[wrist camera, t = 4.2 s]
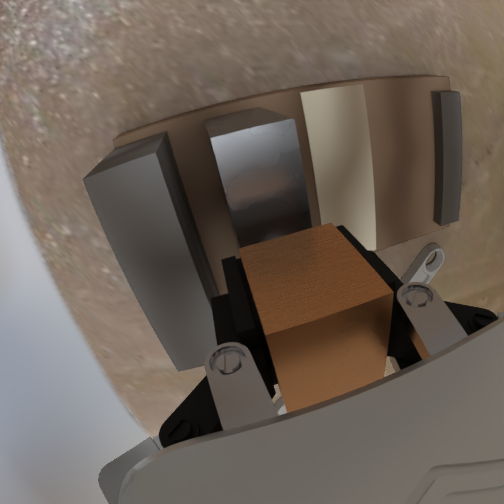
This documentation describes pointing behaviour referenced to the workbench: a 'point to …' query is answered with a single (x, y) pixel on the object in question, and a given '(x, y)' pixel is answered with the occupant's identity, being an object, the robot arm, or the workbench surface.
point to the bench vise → (316, 177)
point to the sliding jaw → (298, 264)
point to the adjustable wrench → (413, 274)
